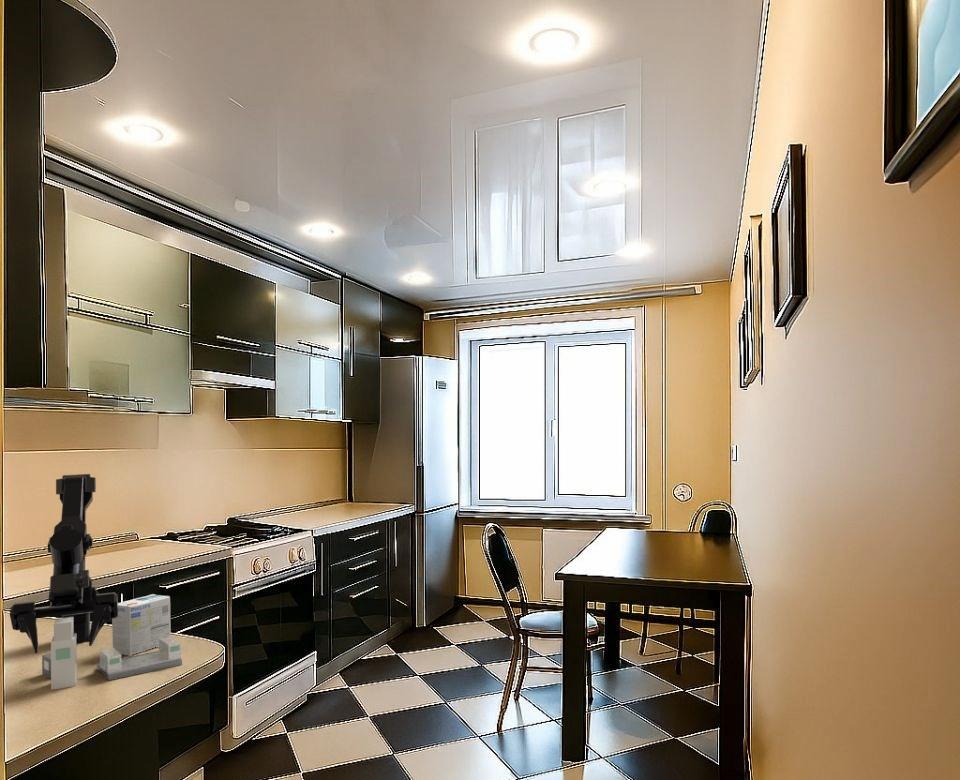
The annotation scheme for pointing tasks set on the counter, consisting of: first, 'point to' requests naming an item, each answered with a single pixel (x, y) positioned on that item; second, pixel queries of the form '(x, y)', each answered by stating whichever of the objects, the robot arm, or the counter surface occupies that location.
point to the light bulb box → (141, 624)
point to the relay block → (46, 665)
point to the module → (63, 654)
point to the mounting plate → (140, 660)
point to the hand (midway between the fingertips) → (63, 648)
